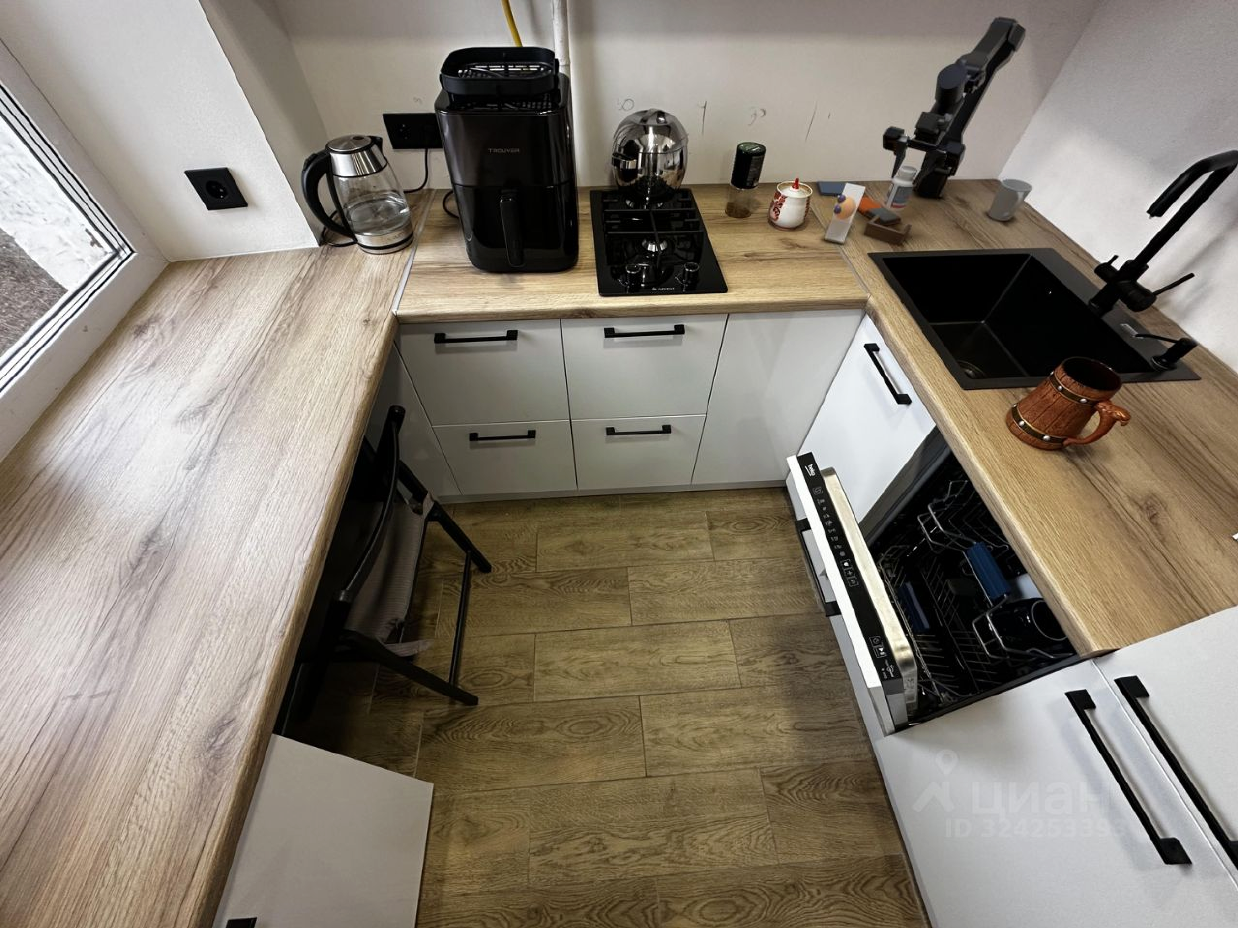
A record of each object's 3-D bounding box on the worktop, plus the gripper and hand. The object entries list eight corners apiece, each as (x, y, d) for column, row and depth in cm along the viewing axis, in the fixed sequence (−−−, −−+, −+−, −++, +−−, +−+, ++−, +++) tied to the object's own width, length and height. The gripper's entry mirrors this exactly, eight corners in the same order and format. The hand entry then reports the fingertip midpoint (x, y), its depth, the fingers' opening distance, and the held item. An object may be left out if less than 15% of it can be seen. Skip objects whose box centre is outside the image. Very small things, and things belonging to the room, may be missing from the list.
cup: (1008, 211, 148) (1027, 180, 142) (1020, 228, 142) (1040, 195, 135) (980, 209, 149) (997, 177, 142) (990, 225, 143) (1009, 193, 136)
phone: (866, 195, 150) (903, 218, 141) (864, 200, 151) (901, 223, 142) (848, 199, 148) (884, 222, 140) (846, 204, 149) (882, 227, 141)
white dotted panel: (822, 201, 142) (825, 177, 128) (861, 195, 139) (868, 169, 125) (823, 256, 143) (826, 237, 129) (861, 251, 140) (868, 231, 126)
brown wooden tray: (872, 225, 141) (877, 214, 139) (907, 236, 138) (912, 225, 135) (863, 234, 138) (867, 223, 136) (898, 245, 134) (903, 234, 132)
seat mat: (857, 186, 158) (858, 183, 157) (862, 197, 152) (863, 195, 152) (817, 183, 158) (817, 181, 158) (820, 195, 153) (821, 192, 152)
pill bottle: (908, 208, 133) (924, 170, 126) (895, 212, 131) (910, 175, 125) (892, 200, 136) (906, 163, 129) (878, 204, 134) (892, 167, 127)
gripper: (902, 86, 122) (864, 152, 125) (986, 104, 114) (943, 174, 117) (901, 116, 132) (866, 176, 135) (978, 135, 124) (939, 198, 127)
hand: (902, 181), depth 128 cm, fingers closed on pill bottle, 5 cm apart
